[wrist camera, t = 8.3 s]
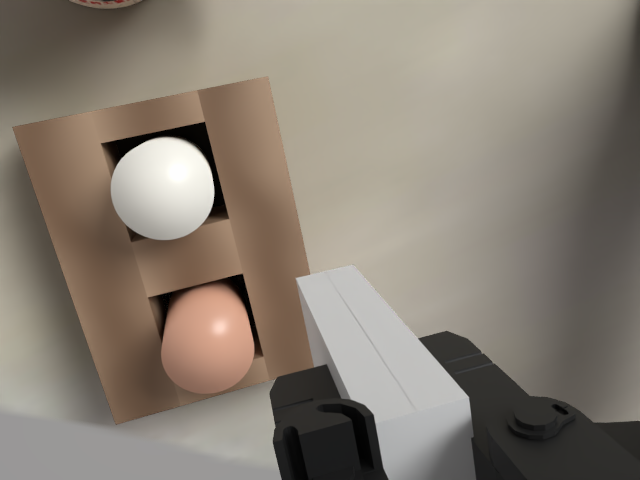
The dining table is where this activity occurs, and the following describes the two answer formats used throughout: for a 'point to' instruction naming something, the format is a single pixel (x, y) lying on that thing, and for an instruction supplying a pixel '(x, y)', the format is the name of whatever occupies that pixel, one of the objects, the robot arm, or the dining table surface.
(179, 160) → the white egg
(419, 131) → the dining table surface
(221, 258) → the wooden egg holder
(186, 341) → the brown egg
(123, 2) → the teacup with lid
